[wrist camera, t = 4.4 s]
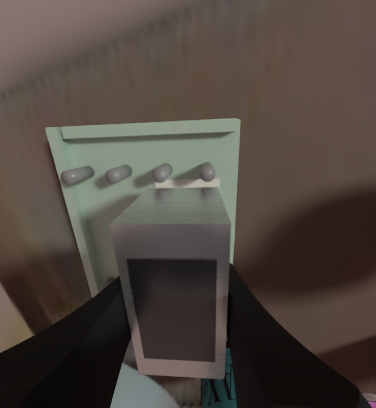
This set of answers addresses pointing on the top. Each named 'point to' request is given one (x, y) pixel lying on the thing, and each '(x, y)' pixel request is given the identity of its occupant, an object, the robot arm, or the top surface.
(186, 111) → the top surface
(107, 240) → the tray
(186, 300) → the block
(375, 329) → the top surface
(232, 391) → the beverage bottle
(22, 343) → the robot arm
